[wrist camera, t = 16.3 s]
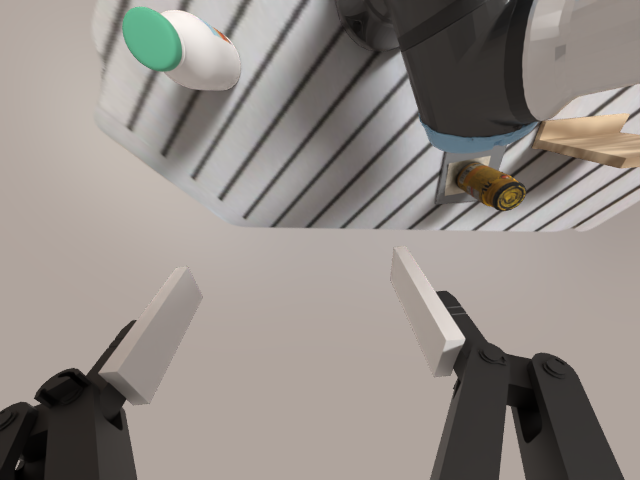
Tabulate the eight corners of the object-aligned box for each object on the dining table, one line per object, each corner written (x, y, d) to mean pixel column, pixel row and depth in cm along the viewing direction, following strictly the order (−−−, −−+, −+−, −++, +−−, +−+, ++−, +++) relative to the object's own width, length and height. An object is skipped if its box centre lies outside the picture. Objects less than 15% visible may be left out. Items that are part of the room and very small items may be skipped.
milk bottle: (251, 63, 39) (209, 42, 22) (224, 101, 41) (167, 108, 24) (210, 17, 35) (123, -51, 19) (183, 61, 38) (85, 37, 21)
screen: (542, 121, 46) (641, 133, 32) (624, 113, 46) (758, 122, 32) (531, 148, 48) (619, 170, 35) (609, 140, 48) (726, 160, 35)
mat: (446, 148, 47) (447, 149, 47) (505, 143, 47) (507, 143, 47) (435, 203, 54) (436, 204, 53) (487, 198, 54) (488, 199, 53)
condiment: (482, 188, 52) (525, 212, 42) (444, 195, 52) (477, 220, 42) (490, 155, 48) (539, 172, 38) (448, 162, 48) (485, 181, 38)
